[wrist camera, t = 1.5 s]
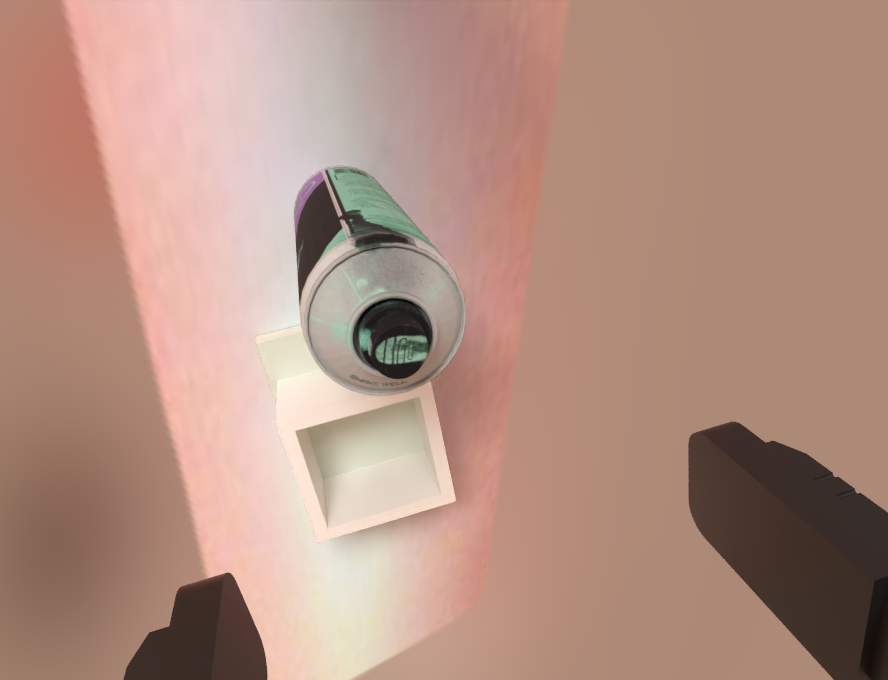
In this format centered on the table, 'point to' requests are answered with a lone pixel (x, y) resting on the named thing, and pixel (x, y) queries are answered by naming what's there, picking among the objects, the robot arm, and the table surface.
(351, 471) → the can holder
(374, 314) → the spray can
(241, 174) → the table surface
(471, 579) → the table surface
